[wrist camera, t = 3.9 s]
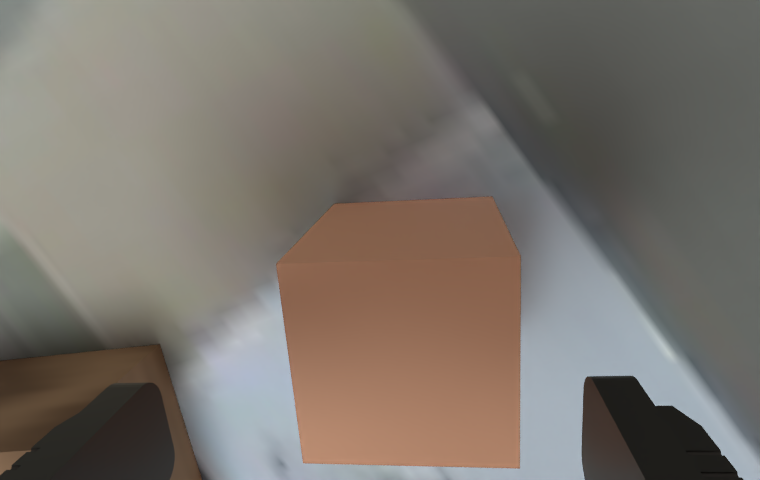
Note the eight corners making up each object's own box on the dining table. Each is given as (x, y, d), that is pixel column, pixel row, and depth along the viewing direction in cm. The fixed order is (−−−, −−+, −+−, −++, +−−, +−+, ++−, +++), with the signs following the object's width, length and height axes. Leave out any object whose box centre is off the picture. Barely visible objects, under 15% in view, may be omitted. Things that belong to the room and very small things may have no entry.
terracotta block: (492, 196, 16) (520, 256, 10) (493, 341, 17) (519, 468, 11) (334, 203, 16) (276, 263, 11) (348, 342, 18) (303, 463, 12)
